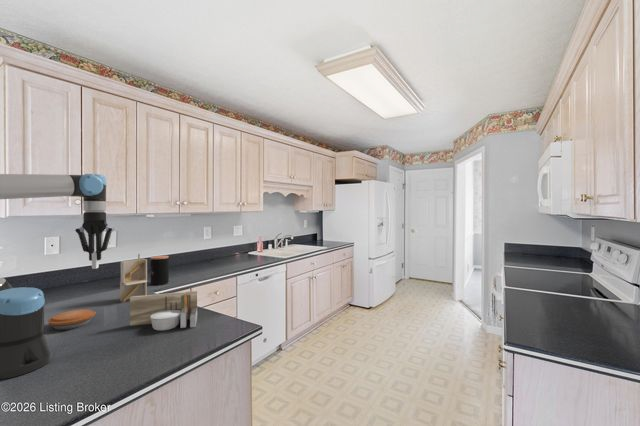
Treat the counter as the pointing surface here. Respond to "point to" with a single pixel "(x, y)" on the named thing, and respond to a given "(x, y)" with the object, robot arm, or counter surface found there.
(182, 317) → the gauge sled
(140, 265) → the staircase
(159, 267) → the coffee jar
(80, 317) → the pie
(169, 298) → the scale board
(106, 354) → the counter surface
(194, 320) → the white striped block
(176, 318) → the ramekin
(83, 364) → the counter surface
